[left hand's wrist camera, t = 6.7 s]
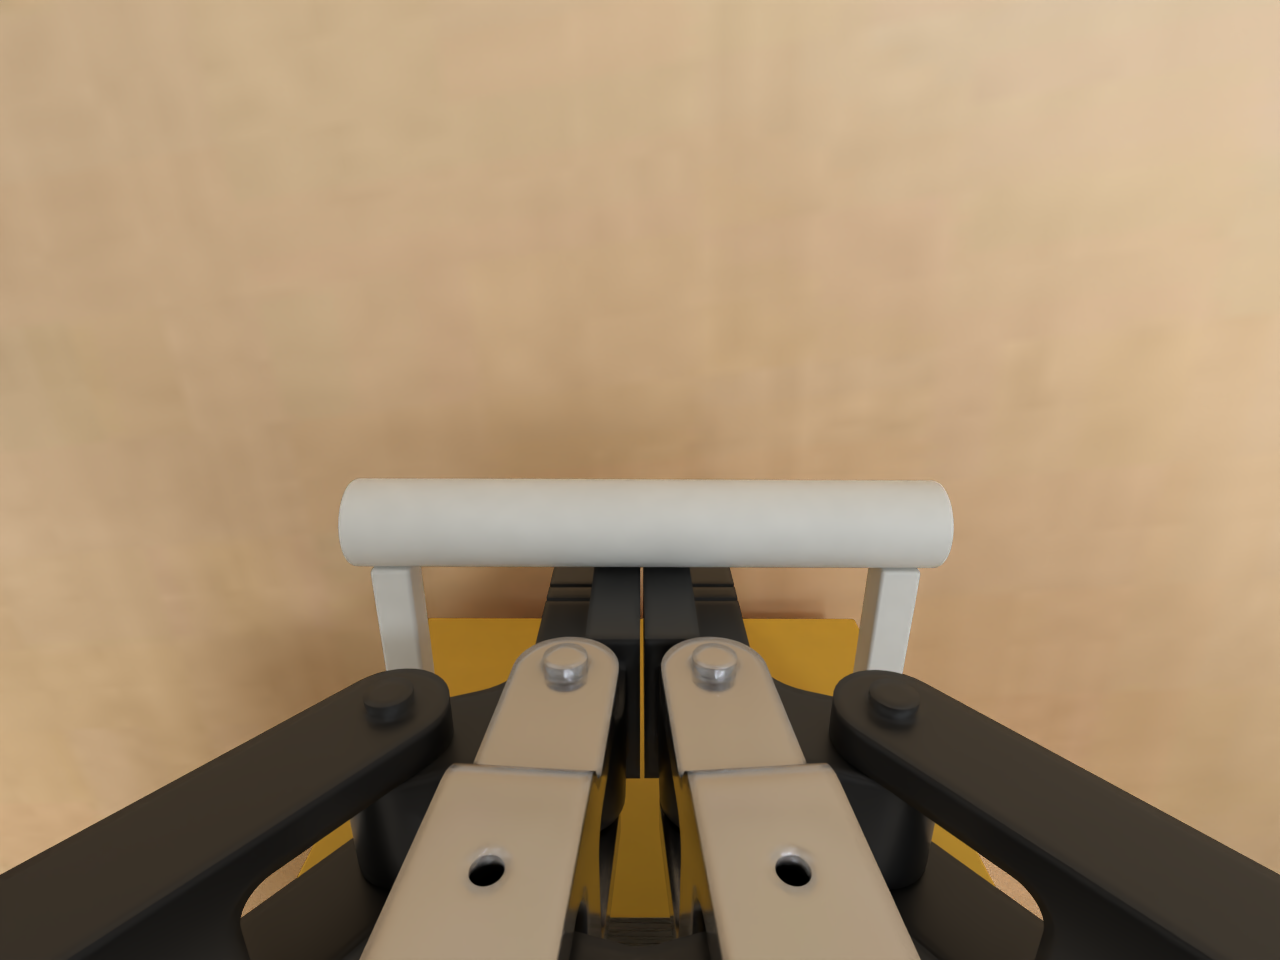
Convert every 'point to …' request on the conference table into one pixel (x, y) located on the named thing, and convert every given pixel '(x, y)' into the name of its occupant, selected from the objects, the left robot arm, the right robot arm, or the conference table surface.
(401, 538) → the drawer
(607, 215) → the conference table surface
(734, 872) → the left robot arm
